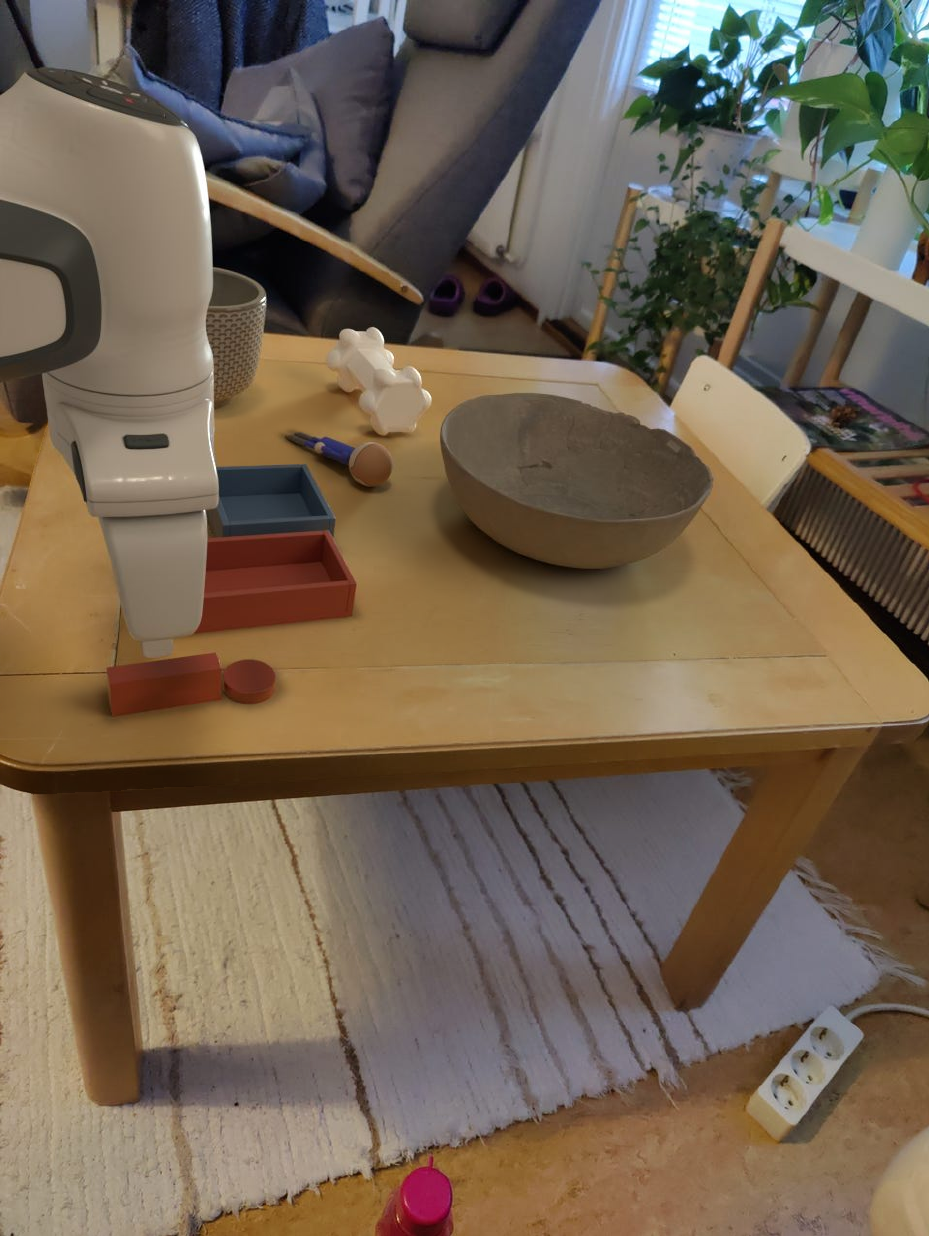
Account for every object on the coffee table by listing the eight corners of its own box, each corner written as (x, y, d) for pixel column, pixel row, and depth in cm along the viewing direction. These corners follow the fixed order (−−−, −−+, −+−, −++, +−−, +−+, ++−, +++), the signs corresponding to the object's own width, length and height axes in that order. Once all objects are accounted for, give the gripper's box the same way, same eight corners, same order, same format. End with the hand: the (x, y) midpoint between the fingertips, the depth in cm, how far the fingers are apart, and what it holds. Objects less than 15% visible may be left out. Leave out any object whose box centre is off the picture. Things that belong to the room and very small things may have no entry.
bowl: (730, 569, 93) (766, 488, 87) (542, 636, 78) (571, 542, 72) (561, 450, 109) (582, 374, 103) (376, 486, 93) (389, 399, 87)
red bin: (172, 637, 68) (171, 600, 66) (156, 576, 74) (155, 541, 72) (352, 617, 75) (356, 583, 72) (325, 562, 80) (328, 529, 78)
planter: (264, 427, 99) (270, 314, 91) (134, 419, 95) (129, 300, 87) (258, 376, 109) (263, 271, 102) (141, 367, 105) (136, 256, 98)
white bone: (429, 437, 105) (440, 373, 100) (361, 440, 101) (370, 374, 96) (382, 384, 115) (391, 323, 110) (320, 385, 111) (325, 322, 106)
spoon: (114, 728, 60) (111, 694, 58) (106, 691, 63) (104, 657, 61) (280, 700, 65) (283, 668, 63) (267, 667, 68) (269, 635, 66)
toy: (270, 450, 97) (367, 491, 89) (279, 409, 96) (378, 447, 88) (300, 453, 101) (395, 493, 93) (309, 414, 100) (406, 451, 92)
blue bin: (222, 559, 78) (222, 525, 76) (201, 499, 85) (201, 467, 83) (332, 550, 82) (335, 518, 80) (303, 494, 89) (306, 463, 87)
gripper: (58, 337, 55) (80, 522, 63) (89, 508, 41) (112, 717, 49) (162, 338, 57) (170, 516, 66) (226, 499, 43) (225, 699, 52)
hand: (146, 604), depth 57 cm, fingers open, 8 cm apart
